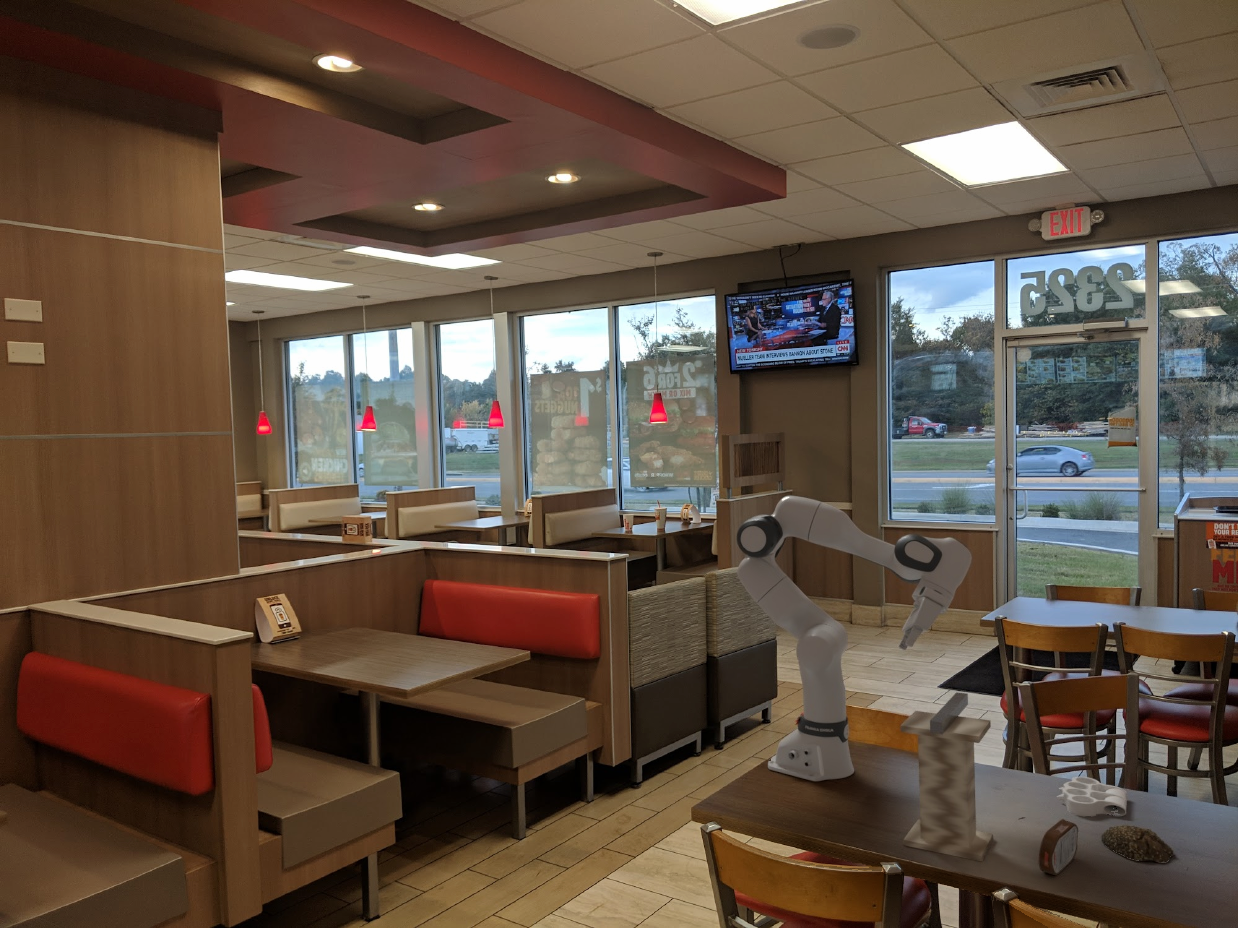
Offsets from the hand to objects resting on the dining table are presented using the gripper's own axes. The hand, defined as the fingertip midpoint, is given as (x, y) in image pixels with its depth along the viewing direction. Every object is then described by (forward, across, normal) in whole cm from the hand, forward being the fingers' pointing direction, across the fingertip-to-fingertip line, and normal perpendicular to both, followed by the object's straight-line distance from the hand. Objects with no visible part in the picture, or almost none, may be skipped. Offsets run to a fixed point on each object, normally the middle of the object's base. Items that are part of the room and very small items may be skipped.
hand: (904, 647), depth 226 cm
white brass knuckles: (+10, -6, +54) cm, 55 cm away
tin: (+27, +26, +44) cm, 58 cm away
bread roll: (+15, +18, +58) cm, 63 cm away
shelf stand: (+35, +17, +25) cm, 46 cm away
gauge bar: (+12, +21, +13) cm, 27 cm away
